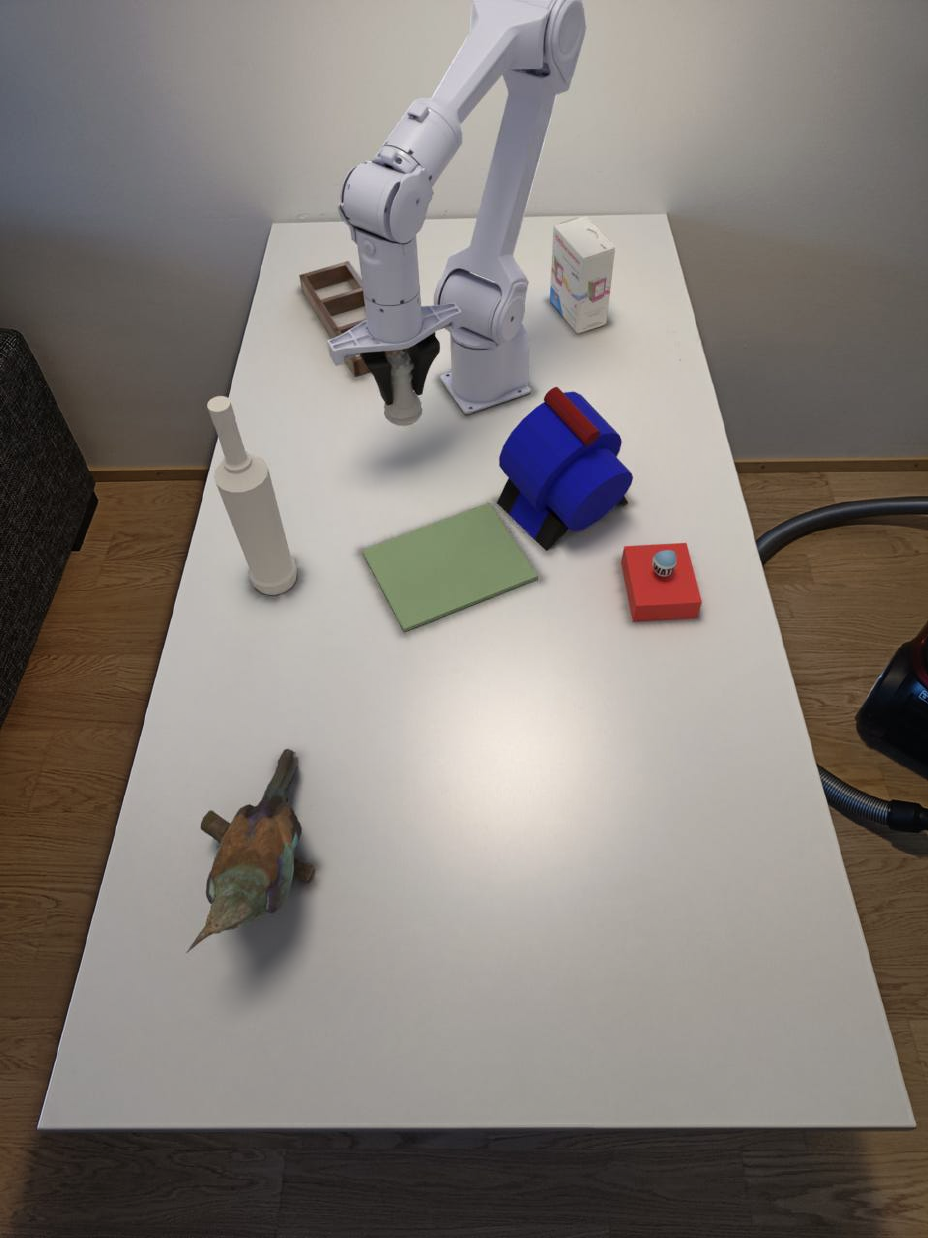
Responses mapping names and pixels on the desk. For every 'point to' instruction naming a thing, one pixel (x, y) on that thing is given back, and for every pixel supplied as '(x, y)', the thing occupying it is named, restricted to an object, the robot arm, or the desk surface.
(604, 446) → the electric motor
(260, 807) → the bird figurine
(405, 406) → the rook chess piece
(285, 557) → the bottle
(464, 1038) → the desk surface
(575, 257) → the ink box
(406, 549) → the mat
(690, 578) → the red rectangular block
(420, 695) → the desk surface
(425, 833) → the desk surface
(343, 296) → the rack
